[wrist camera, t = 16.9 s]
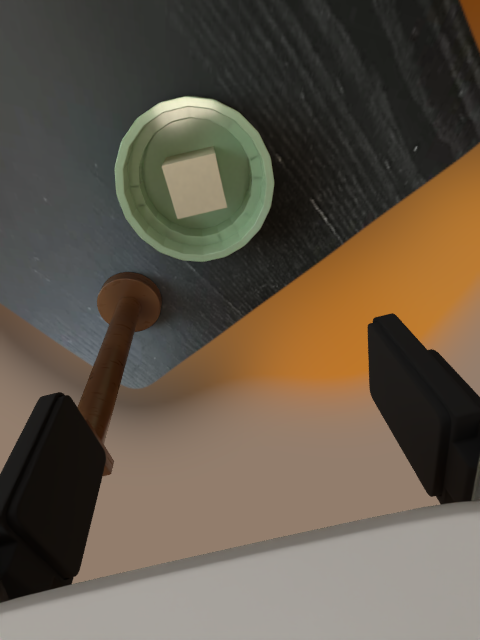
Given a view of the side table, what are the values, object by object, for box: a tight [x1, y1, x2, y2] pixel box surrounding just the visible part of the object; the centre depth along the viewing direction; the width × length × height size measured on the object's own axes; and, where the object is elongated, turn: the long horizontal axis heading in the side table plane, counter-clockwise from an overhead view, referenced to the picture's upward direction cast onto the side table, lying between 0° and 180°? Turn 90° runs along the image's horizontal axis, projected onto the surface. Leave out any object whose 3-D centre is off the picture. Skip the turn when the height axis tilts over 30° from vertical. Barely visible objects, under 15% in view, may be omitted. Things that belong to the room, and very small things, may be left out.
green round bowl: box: [115, 95, 274, 262], centre depth 29 cm, size 12×12×5 cm
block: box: [162, 146, 227, 219], centre depth 29 cm, size 4×4×4 cm
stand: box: [77, 272, 162, 476], centre depth 29 cm, size 6×6×19 cm
